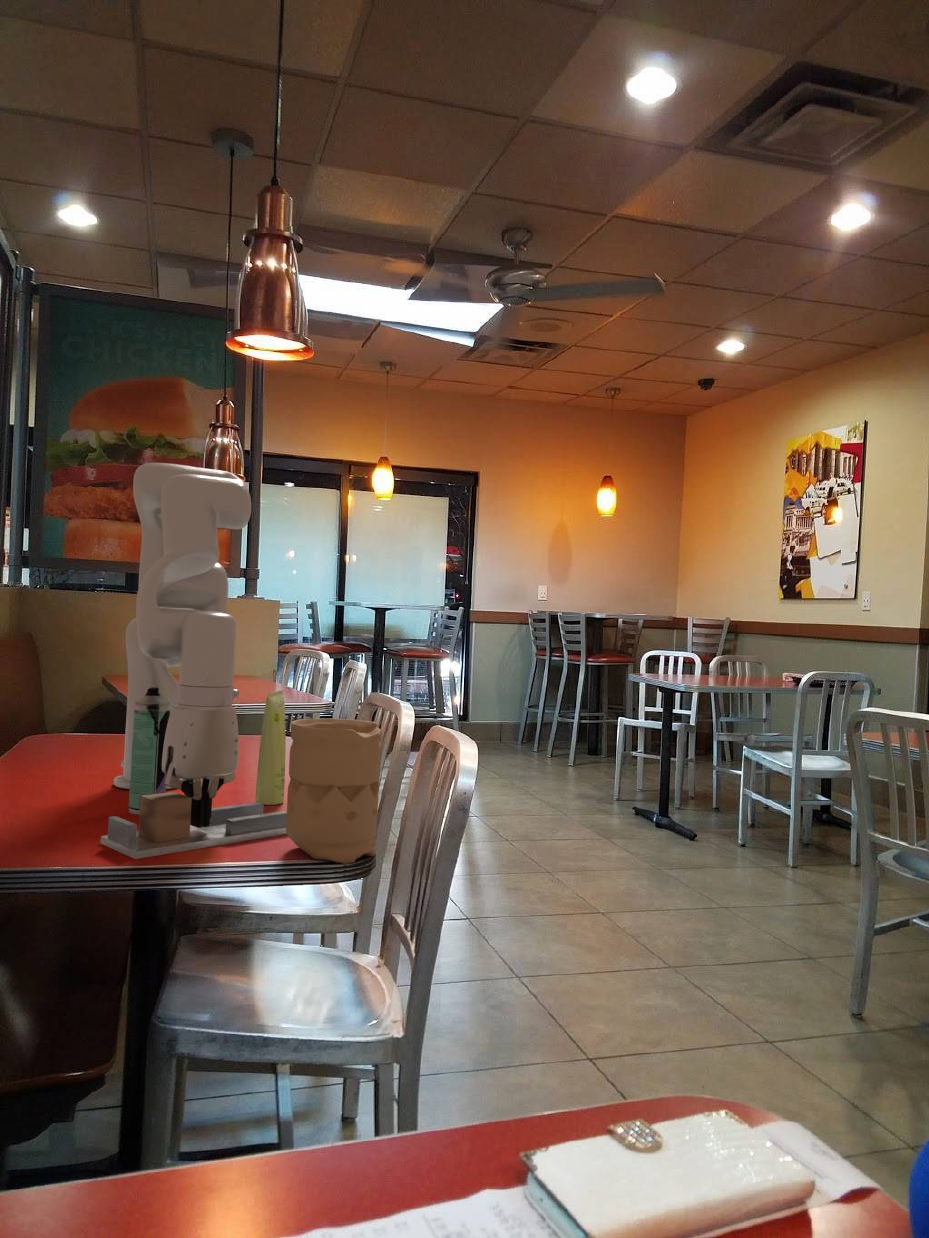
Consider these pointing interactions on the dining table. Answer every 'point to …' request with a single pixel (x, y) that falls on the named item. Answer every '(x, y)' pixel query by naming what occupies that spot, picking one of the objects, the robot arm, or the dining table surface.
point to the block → (164, 816)
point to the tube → (272, 752)
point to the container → (334, 788)
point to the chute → (199, 831)
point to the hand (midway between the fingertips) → (198, 825)
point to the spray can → (148, 747)
